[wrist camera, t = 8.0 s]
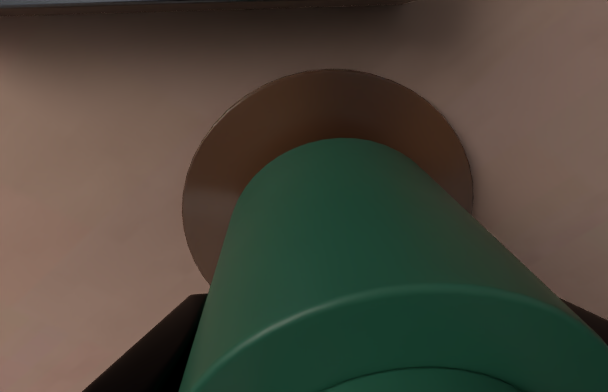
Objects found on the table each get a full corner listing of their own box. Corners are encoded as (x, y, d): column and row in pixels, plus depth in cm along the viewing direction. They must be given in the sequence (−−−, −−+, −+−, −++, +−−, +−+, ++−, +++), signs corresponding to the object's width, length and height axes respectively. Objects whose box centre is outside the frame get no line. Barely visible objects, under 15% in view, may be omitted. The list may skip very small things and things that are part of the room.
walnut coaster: (489, 62, 10) (497, 64, 10) (449, 319, 14) (453, 327, 13) (160, 74, 10) (156, 75, 10) (205, 334, 13) (203, 342, 13)
